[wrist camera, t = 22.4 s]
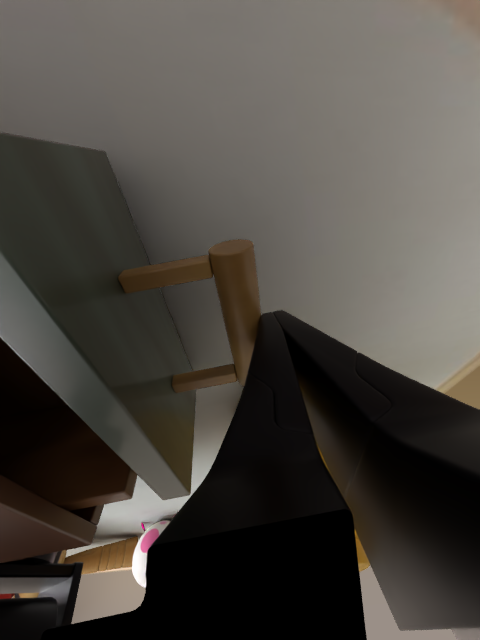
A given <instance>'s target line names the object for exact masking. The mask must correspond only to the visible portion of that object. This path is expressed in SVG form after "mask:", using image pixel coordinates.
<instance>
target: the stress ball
mask: <svg viewBox="0 0 480 640" xmlns="http://www.w3.org/2000/svg"><path fill="white" fill-rule="evenodd" d="M170 522H171V521H168V520H164V521H159V522H157V523H155V524H153V525H152V526H150V527H149V528H148V529H147V530H146V531H145V528H144V524H142V528H143V529H144V531H145V532H144V533H143V535H142V536H141V538H140V539H139V541H138V543H137V545H136V548H135V550H134V554H133V560H132V570H133V574H134V577H135V579H136V581H137V582H138V583H139V584H140V585H141V586H143V587H145V588H146V575H145V573H146V563H147V551H148V549H149V547H150V546H151V545H152V544H153V542H154V541H155V540H156V539H157V538H158V536H159V535H160V534H161V533H162V531H163V530H164V529H165V528H166V527H167V525H168V524H169V523H170Z"/></svg>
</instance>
